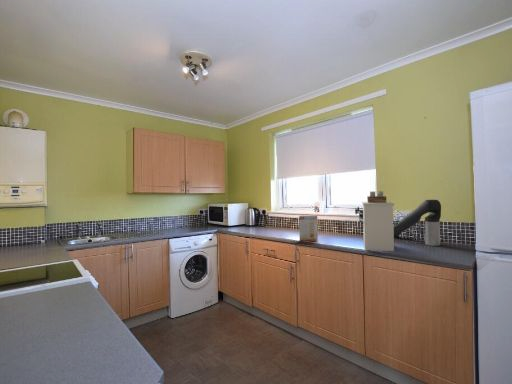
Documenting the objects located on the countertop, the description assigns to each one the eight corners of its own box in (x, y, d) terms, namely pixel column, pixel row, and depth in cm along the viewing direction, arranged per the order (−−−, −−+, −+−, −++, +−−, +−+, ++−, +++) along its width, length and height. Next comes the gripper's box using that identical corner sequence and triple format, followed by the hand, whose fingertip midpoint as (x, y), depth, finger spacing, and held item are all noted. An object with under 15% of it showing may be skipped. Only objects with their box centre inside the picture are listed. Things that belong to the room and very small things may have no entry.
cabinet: (362, 243, 212) (362, 202, 212) (390, 244, 206) (389, 201, 206) (364, 249, 189) (363, 203, 189) (394, 251, 183) (394, 203, 183)
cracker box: (318, 240, 227) (317, 215, 227) (315, 241, 222) (315, 216, 222) (302, 239, 235) (301, 214, 235) (299, 240, 230) (298, 215, 230)
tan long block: (365, 201, 230) (365, 191, 230) (381, 201, 226) (381, 191, 226) (368, 202, 198) (367, 191, 198) (386, 202, 194) (386, 191, 194)
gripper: (372, 219, 245) (373, 211, 232) (355, 219, 250) (355, 211, 237) (371, 212, 249) (372, 204, 235) (355, 212, 253) (355, 204, 240)
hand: (363, 207), depth 236 cm, fingers open, 8 cm apart
